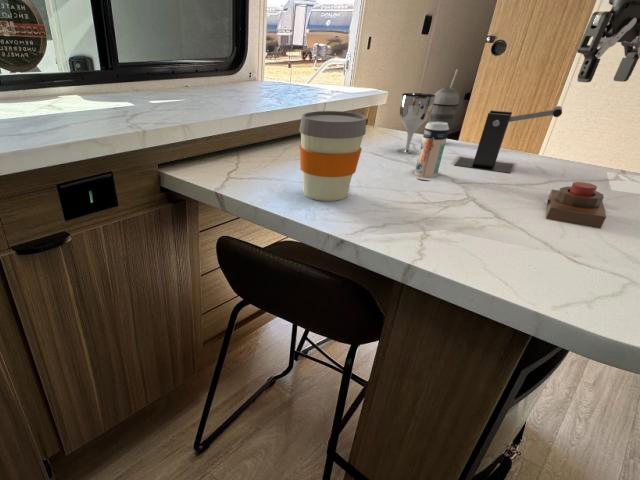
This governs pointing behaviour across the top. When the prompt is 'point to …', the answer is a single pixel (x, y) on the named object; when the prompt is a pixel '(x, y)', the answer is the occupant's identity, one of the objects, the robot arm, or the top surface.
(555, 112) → the lever
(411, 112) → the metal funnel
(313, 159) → the reusable coffee cup
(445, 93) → the beverage cup
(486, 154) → the bracket
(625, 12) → the robot arm
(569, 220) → the button box
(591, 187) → the button
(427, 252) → the top surface
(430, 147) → the supplement bottle
